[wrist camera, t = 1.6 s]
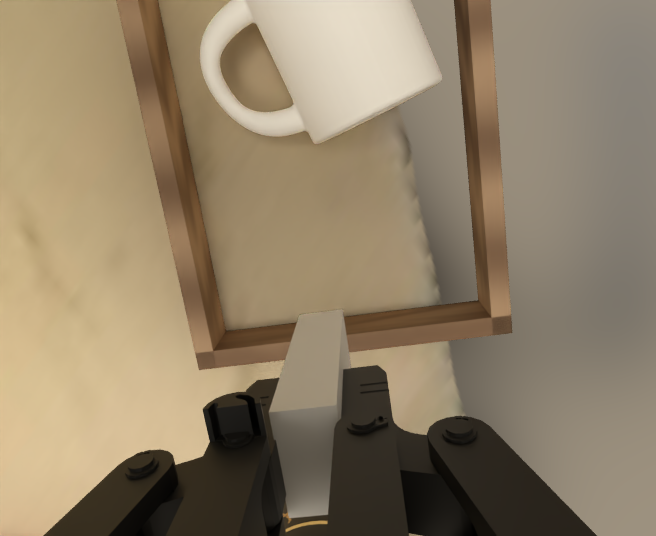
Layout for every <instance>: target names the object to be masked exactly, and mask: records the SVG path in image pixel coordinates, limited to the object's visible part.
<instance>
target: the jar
mask: <svg viewBox="0 0 656 536" xmlns="http://www.w3.org/2000/svg"><path fill="white" fill-rule="evenodd" d="M283 518H284V523H285V529H286V536H326V535H327V521H328V515H319V516H308V517H297V518H289V516H288V511H287V505H286V500H285V504H284V509H283Z"/></svg>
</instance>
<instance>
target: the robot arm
mask: <svg viewBox="0 0 656 536" xmlns="http://www.w3.org/2000/svg"><path fill="white" fill-rule="evenodd" d="M203 413H204V418H205V422H206V427H207V431H208V435H209V440H210V443H209V445H208V447H207V449H206V451H205V454H204V456H203V457H200V458H197V459H194V460H191V461H188V462H184V463H181V464H177V465H175V462H174V458H173V455H172V454H171V453H170V452H168V451H164V450H148V451H144V452H140V453H137V454H136V455H134V456H132V457H130V458H128V459H126V460H125V461H124V462H122V463H121V464H120V465H118V466H117V467H116V468H115V469H114V470H113V471H112V472H111V473H109V474H108V475H107V476H106V477H105V478H104V479H103V480H102V481H101V482H100V483H99V484H98V485H97V486H96V487H95V488H94V489H92V490H91V491H90V492H89V493H88V494H87V495H86V496H85V497H84V498H83V499H82V500H81V501H80V502H79V503H78V504H77V505H76V506H74V507H73V508H72V509H71V510H70V511H69V512H68V513H67V514H66V515H65V516H64V517H63V518H62V519H61V520H60V521H59V522H57V523H56V524H55V525H54V526H53V527H52V528H51V529H50V530H49V531H48V532H47V533H46V534H45V535H44V536H286V529H285V523H284V518H283V509H284V504H285V500H286V505H287V511H288V516H289V518H297V517H308V516H319V515H328V521H327V535H326V536H409V533H411V534H417V535H422V536H597V535H596V534H595V533H594V532H593V531H592V530H591V529H590V528H589V527H588V526H587V525H586V524H585V523H584V522H583V521H582V520H581V519H580V518H579V517H578V516H577V515H576V514H575V513H574V512H573V511H572V510H571V509H570V508H569V507H568V506H567V505H566V504H565V503H564V502H563V501H562V500H561V499H560V498H559V497H558V496H557V494H556V493H554V492H553V491H552V490H551V488H550V487H549V486H547V484H546V483H545V482H544V481H543V480H542V479H541V478H540V477H539V476H538V475H537V474H536V473H535V472H534V471H533V470H532V469H531V468H530V467H529V466H528V465H527V464H526V463H525V462H524V461H523V460H522V459H521V458H520V457H519V456H518V455H517V454H516V453H515V452H514V451H513V450H512V449H511V448H510V446H509V445H508V444H507V443H506V442H505V441H504V440H503V439H502V438H501V437H500V436H499V435H498V434H497V433H496V432H495V431H494V430H493V429H492V428H491V427H490V426H489V425H487V424H486V423H484V422H483V421H481V420H478V419H474V418H472V417H466V416H463V417H462V416H455V417H449V418H445V419H442V420H439V421H437V422H435V423H434V424H433V425H432V426H430V428H429V430H428V433H427V435H420V434H414V433H410V432H407V431H404V430H403V429H401V428H399V427H398V426H397V425H396V424H395V423H394V421H393V418H392V411H391V403H390V396H389V389H388V382H387V375H386V372H385V371H384V370H383V369H382V368H380V367H379V366H378V365H376V366H367V367H358V368H351V362H350V356H349V349H348V342H347V335H346V328H345V322H344V315H343V309H339V310H331V311H323V312H315V313H307V314H299V317H298V321H297V324H296V327H295V330H294V333H293V337H292V340H291V343H290V346H289V349H288V352H287V356H286V359H285V362H284V365H283V368H282V372H281V375H280V378H274V379H265V380H257V381H256V382H255V383H254V384H253V385H251V386H250V387H249V388H248V389H247V390H246V392H236V393H231V394H226V395H224V396H221V397H219V398H216V399H214V400H213V401H211V402H210V403H208V404H207V405H206V406H205V407H204V408H203Z"/></svg>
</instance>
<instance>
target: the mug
mask: <svg viewBox="0 0 656 536" xmlns="http://www.w3.org/2000/svg"><path fill="white" fill-rule="evenodd" d="M251 23H255V24H256V25H257V27H258V29H259V31H260V33H261V35H262V37H263V39H264V41H265V43H266V45H267V48H268V50H269V52H270V54H271V56H272V58H273V60H274V62H275V64H276V66H277V68H278V71H279V73H280V75H281V77H282V79H283V81H284V83H285V85H286V87H287V89H288V91H289V94H290V96H291V98H292V100H293V105H292V106H291V107H289V108H286V109H283V110H279V111H273V112H258V111H254V110H251V109H249V108H247V107H245V106H244V105H242V104H241V103H240V102H239V101H238V100H237V99H236V97H235V96H234V95H233V94H232V92H231V91H230V89H229V87H228V86H227V84H226V82H225V80H224V78H223V75H222V72H221V68H220V58H221V55H222V52H223V50H224V48H225V47H226V45H227V44H228V43H229V41H230V40H231V39H232V38H233V37H234V36H235V35H236V34H238V33H239V32H240V31H241V30H242V29H244V28H245V27H247V26H248V25H249V24H251ZM200 64H201V70H202V74H203V77H204V79H205V82H206V84H207V86H208V88H209V90H210V92H211V94H212V95H213V97H214V98H215V100H216V101H217V102H218V104H219V105H220V106H221V107H222V109H223V110H224V111H225V112H226V113H227V114H228V115H229V116H230V117H231V118H232V119H234V120H235V121H236V122H237V123H239V124H240V125H241V126H243V127H245V128H246V129H248V130H250V131H252V132H255V133H257V134H261V135H265V136H272V137H280V136H288V135H292V134H296V133H299V132H302V131H306V132H308V133H309V135H310V137H311V139H312V141H313V143H315V144H320V143H322V142H325V141H327V140H329V139H331V138H333V137H335V136H337V135H340V134H342V133H344V132H346V131H348V130H350V129H352V128H354V127H356V126H358V125H360V124H362V123H364V122H366V121H368V120H370V119H372V118H374V117H376V116H378V115H380V114H382V113H384V112H386V111H388V110H390V109H392V108H394V107H396V106H398V105H400V104H402V103H404V102H405V101H407V100H409V99H411V98H413V97H415V96H417V95H419V94H421V93H423V92H424V91H426V90H428V89H430V88H432V87H434V86H435V85H437V84H439V83H440V82H441V80H442V74H441V72H440V70H439V67H438V65H437V62H436V60H435V57H434V55H433V53H432V50H431V48H430V45H429V43H428V41H427V38H426V36H425V33H424V31H423V28H422V26H421V24H420V21H419V19H418V16H417V14H416V11H415V9H414V7H413V4H412V2H411V0H231V1H230V2H229V3H227V4H226V5H225V6H224V7H223V8H222V9H221V10H219V11H218V13H217V14H216V15H215V16H214V17H213V18H212V20H211V21H210V23H209V24H208V26H207V28H206V30H205V32H204V34H203V37H202V41H201V46H200Z"/></svg>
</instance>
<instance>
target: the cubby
mask: <svg viewBox="0 0 656 536" xmlns="http://www.w3.org/2000/svg"><path fill="white" fill-rule="evenodd" d="M116 1H117V5H118V10H119V14H120V19H121V23H122V28H123V32H124V37H125V41H126V45H127V50H128V54H129V59H130V63H131V68H132V72H133V77H134V81H135V86H136V90H137V95H138V99H139V104H140V108H141V113H142V117H143V121H144V126H145V130H146V135H147V139H148V144H149V148H150V153H151V157H152V162H153V166H154V171H155V175H156V180H157V184H158V188H159V193H160V197H161V202H162V206H163V211H164V215H165V220H166V224H167V229H168V233H169V238H170V242H171V247H172V251H173V256H174V260H175V264H176V269H177V273H178V278H179V282H180V287H181V291H182V296H183V300H184V305H185V309H186V314H187V318H188V323H189V327H190V332H191V336H192V340H193V345H194V349H195V354H196V358H197V363H198V367H199V370H202V369H211V368H219V367H228V366H236V365H245V364H253V363H262V362H270V361H279V360H285V359H286V356H287V352H288V349H289V346H290V343H291V340H292V337H293V333H294V330H295V327H296V324H297V323H292V324H284V325H275V326H267V327H259V328H251V329H243V330H235V331H227V332H226V330H225V325H224V320H223V315H222V310H221V305H220V301H219V296H218V291H217V286H216V281H215V276H214V272H213V267H212V262H211V257H210V252H209V247H208V242H207V238H206V233H205V228H204V223H203V218H202V213H201V209H200V204H199V199H198V194H197V189H196V184H195V179H194V175H193V170H192V165H191V160H190V155H189V150H188V146H187V141H186V136H185V131H184V126H183V121H182V116H181V112H180V107H179V102H178V97H177V92H176V87H175V83H174V78H173V73H172V68H171V63H170V58H169V53H168V49H167V44H166V39H165V34H164V29H163V24H162V20H161V15H160V10H159V5H158V0H116ZM454 6H455V17H456V18H455V19H456V29H457V30H456V31H457V43H458V55H459V67H460V80H461V93H462V105H463V117H464V128H465V129H464V130H465V140H466V141H465V142H466V153H467V167H468V179H469V191H470V204H471V216H472V228H473V240H474V253H475V265H476V278H477V289H478V301H470V302H462V303H454V304H446V305H438V306H429V307H421V308H413V309H405V310H397V311H389V312H381V313H373V314H365V315H357V316H348V317H344V322H345V328H346V335H347V342H348V349H349V352H355V351H364V350H372V349H381V348H389V347H398V346H406V345H415V344H423V343H432V342H440V341H449V340H457V339H466V338H474V337H482V336H491V335H499V334H508V333H512V321H511V306H510V291H509V276H508V261H507V246H506V230H505V215H504V200H503V185H502V169H501V154H500V139H499V123H498V108H497V93H496V78H495V63H494V48H493V32H492V17H491V2H490V0H454Z"/></svg>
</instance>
